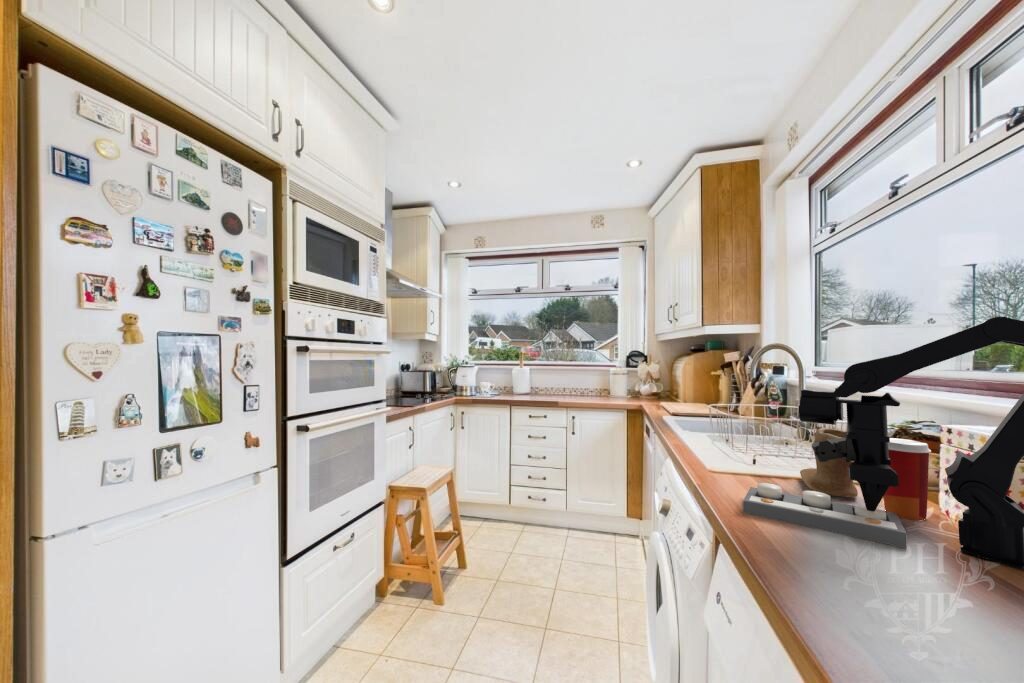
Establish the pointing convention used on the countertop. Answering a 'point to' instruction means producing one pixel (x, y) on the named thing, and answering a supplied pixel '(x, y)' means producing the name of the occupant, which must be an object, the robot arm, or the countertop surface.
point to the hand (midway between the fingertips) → (870, 510)
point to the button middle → (816, 499)
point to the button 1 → (769, 491)
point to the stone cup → (830, 471)
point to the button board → (827, 518)
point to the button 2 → (870, 513)
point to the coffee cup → (908, 479)
